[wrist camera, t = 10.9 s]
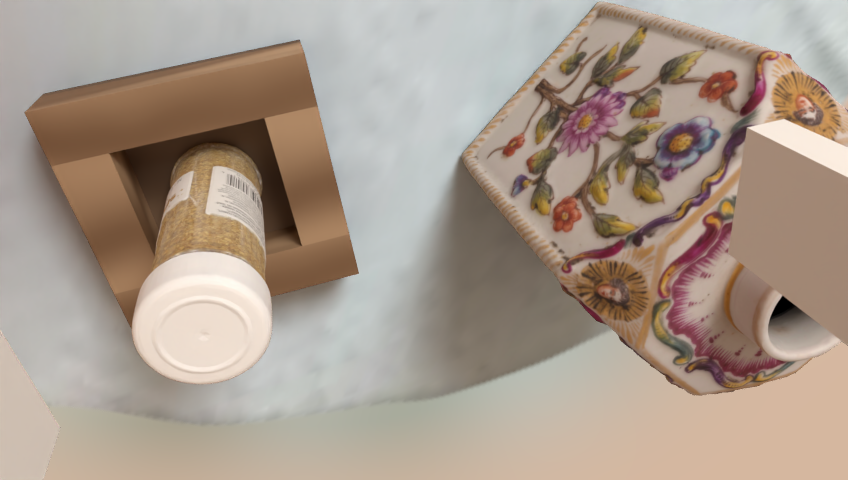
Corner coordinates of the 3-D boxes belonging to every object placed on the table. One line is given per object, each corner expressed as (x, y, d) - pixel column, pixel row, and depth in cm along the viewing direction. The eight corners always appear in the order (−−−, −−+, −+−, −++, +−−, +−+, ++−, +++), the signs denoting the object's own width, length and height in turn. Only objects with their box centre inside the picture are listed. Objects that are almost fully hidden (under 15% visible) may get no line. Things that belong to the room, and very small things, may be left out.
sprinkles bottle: (154, 158, 31) (101, 310, 20) (242, 127, 32) (239, 258, 20) (196, 234, 34) (170, 408, 22) (277, 203, 34) (293, 360, 22)
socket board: (43, 93, 29) (24, 112, 27) (299, 39, 31) (304, 52, 28) (141, 301, 35) (133, 333, 33) (351, 247, 37) (358, 273, 34)
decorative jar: (573, 261, 41) (766, 475, 26) (451, 158, 36) (605, 354, 20) (711, 123, 39) (1013, 269, 24) (603, -10, 33) (907, 68, 18)
